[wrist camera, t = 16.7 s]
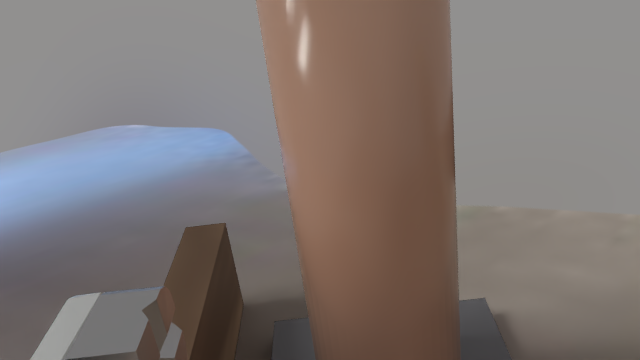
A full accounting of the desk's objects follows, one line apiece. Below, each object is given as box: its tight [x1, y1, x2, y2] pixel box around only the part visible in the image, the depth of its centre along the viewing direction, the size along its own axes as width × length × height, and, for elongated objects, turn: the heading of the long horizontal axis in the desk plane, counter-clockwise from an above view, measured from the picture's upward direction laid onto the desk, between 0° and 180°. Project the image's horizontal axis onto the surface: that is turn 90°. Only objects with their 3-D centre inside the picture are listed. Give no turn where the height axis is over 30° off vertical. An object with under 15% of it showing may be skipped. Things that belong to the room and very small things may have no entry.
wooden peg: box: [256, 0, 461, 360], centre depth 20 cm, size 6×6×18 cm
